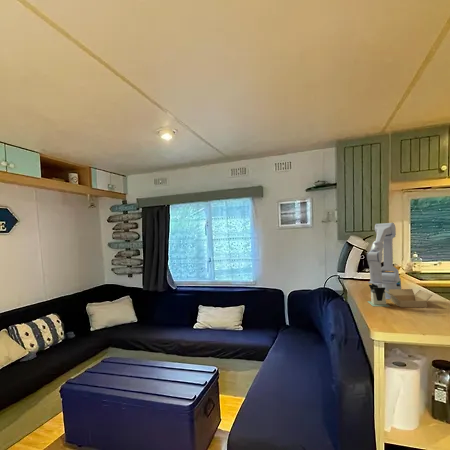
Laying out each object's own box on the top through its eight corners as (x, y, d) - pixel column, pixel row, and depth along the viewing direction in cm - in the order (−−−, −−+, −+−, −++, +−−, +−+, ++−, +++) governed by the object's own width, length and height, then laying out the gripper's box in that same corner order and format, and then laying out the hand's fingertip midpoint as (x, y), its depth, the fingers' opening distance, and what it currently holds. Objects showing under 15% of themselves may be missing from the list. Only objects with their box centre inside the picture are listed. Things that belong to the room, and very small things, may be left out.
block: (371, 302, 162) (370, 289, 163) (383, 302, 161) (382, 289, 161) (373, 304, 158) (372, 291, 158) (386, 304, 156) (385, 291, 157)
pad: (367, 302, 166) (367, 301, 166) (382, 302, 164) (382, 301, 164) (372, 307, 154) (372, 305, 154) (389, 307, 153) (389, 306, 153)
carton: (383, 300, 168) (382, 289, 169) (418, 300, 164) (417, 288, 165) (394, 307, 151) (393, 295, 151) (433, 308, 147) (432, 294, 147)
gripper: (364, 272, 168) (366, 296, 167) (371, 275, 154) (373, 301, 153) (378, 272, 167) (380, 296, 166) (386, 275, 153) (388, 301, 152)
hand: (377, 299), depth 160 cm, fingers open, 7 cm apart
